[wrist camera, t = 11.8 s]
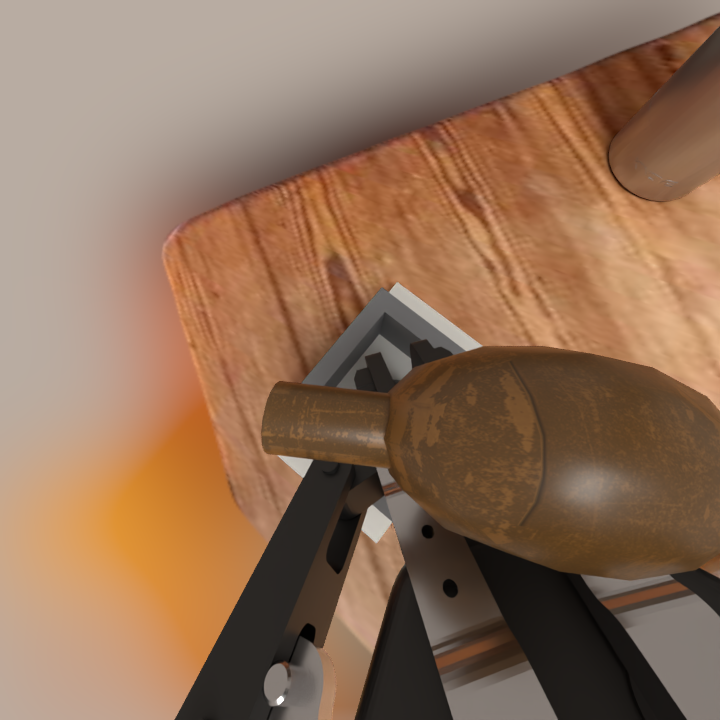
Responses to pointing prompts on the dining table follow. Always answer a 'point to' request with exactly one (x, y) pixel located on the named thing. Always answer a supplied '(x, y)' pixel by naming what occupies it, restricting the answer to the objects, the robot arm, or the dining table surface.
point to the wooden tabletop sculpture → (532, 454)
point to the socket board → (392, 338)
